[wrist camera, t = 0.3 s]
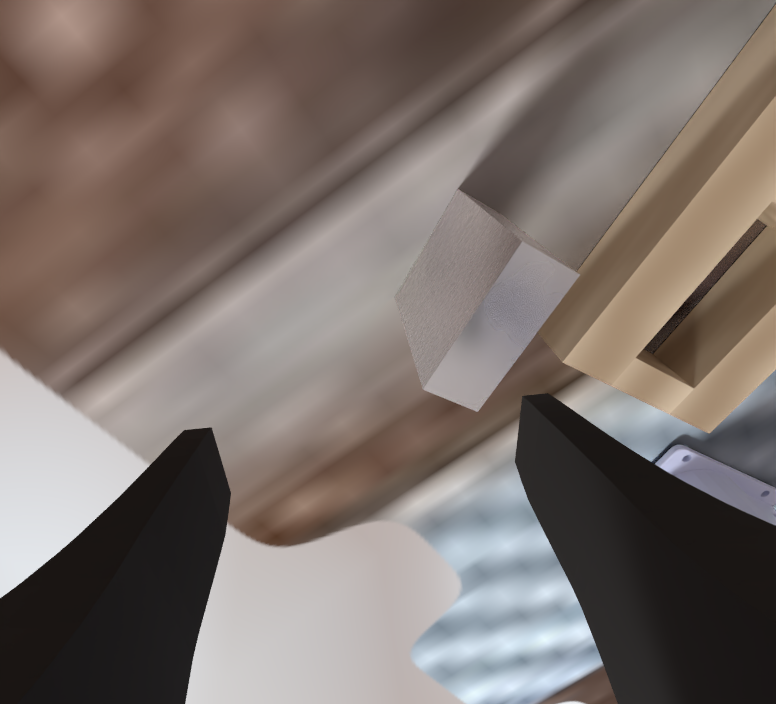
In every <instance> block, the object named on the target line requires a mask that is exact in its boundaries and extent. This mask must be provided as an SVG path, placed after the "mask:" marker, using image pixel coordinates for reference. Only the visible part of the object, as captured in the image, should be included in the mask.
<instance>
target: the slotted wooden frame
mask: <svg viewBox="0 0 776 704" xmlns="http://www.w3.org/2000/svg"><path fill="white" fill-rule="evenodd" d="M756 219H759V220H760V221H761V222H763V223H764V224H765V225H767V226H766V228H765V229H764V230H763V231H762V232H761V233H760V234H759V235H758V237H757V238H756V239H755V240H754V241H753V242H752V243H751V244H750V246H749V247H748V248H747V249H746V250H745V251H744V252H743V253H742V255H741V256H740V257H739V258H738V259H737V260H736V261H735V262H734V264H733V265H732V266H731V267H730V268H729V269H728V270H727V271H726V273H725V274H724V275H723V276H722V277H721V278H720V279H719V281H718V282H717V283H716V284H715V285H714V286H713V287H712V288H711V290H710V291H709V292H708V293H707V294H706V295H705V296H704V297H703V299H702V300H701V301H700V302H699V303H698V304H697V305H696V306H695V308H694V309H693V310H692V311H691V312H690V313H689V314H688V315H687V317H686V318H685V319H684V320H683V321H682V322H681V323H680V324H679V326H678V327H677V328H676V329H675V330H674V331H673V332H672V333H671V335H670V336H669V337H668V338H667V339H666V340H665V341H664V342H663V344H662V345H661V346H660V347H659V348H658V349H657V350H656V351H655V353H654V354H652V353H650V352H648V351H646V350H644V347H645V346H646V345H647V344H648V343H649V342H650V341H651V339H652V338H653V337H654V336H655V335H656V334H657V333H658V331H659V330H660V329H661V328H662V327H663V326H664V325H665V323H666V322H667V321H668V320H669V319H670V318H671V317H672V315H673V314H674V313H675V312H676V311H677V310H678V309H679V307H680V306H681V305H682V304H683V303H684V302H685V301H686V299H687V298H688V297H689V296H690V295H691V294H692V293H693V291H694V290H695V289H696V288H697V287H698V286H699V285H700V283H701V282H702V281H703V280H704V279H705V278H706V276H707V275H708V274H709V273H710V272H711V271H712V270H713V268H714V267H715V266H716V265H717V264H718V263H719V262H720V260H721V259H722V258H723V257H724V256H725V255H726V254H727V252H728V251H729V250H730V249H731V248H732V247H733V246H734V244H735V243H736V242H737V241H738V240H739V239H740V238H741V236H742V235H743V234H744V233H745V232H746V231H747V230H748V228H749V227H750V226H751V225H752V224H753V223H754V222H755V220H756ZM577 273H579V274H580V276H579V277H578V278H577V280H576V281H575V282H574V284H573V285H572V286H571V288H570V289H569V290H568V292H567V293H566V294H565V296H564V297H563V299H562V300H561V301H560V303H559V304H558V305H557V307H556V308H555V309H554V311H553V312H552V313H551V315H550V316H549V317H548V319H547V320H546V321H545V323H544V324H543V325H542V327H541V328H540V329H539V331H538V334H539V335H540V336H541V337H542V338H543V340H544V341H545V342H546V343H547V344H548V346H549V347H550V348H551V349H552V350H553V352H554V353H555V354H556V355H557V356H558V358H559V359H560V360H561V361H562V362H563V363H565V364H567V365H569V366H571V367H573V368H575V369H577V370H579V371H581V372H583V373H586V374H588V375H590V376H592V377H594V378H596V379H598V380H600V381H602V382H604V383H606V384H608V385H610V386H612V387H614V388H616V389H618V390H621V391H623V392H625V393H627V394H629V395H631V396H633V397H635V398H637V399H639V400H641V401H643V402H645V403H647V404H649V405H651V406H653V407H655V408H658V409H660V410H662V411H664V412H666V413H668V414H670V415H672V416H674V417H676V418H678V419H680V420H682V421H684V422H686V423H688V424H690V425H693V426H695V427H697V428H699V429H701V430H703V431H705V432H707V433H711V432H712V431H713V430H714V429H715V428H716V427H717V426H718V425H719V424H720V423H721V422H722V421H723V420H724V419H725V418H726V417H727V416H728V415H729V414H730V413H731V412H732V411H733V410H734V409H735V408H736V407H737V406H738V405H739V404H740V403H742V402H743V401H744V400H745V399H746V398H747V397H748V396H749V395H750V394H751V393H752V392H753V391H754V390H755V389H756V388H757V387H758V386H759V385H760V384H761V383H762V382H763V381H764V380H765V379H766V378H767V377H768V376H769V375H770V374H771V373H772V372H774V371H775V370H776V5H775V6H774V7H773V9H772V10H771V11H770V13H769V14H768V15H767V17H766V18H765V19H764V21H763V22H762V23H761V25H760V26H759V28H758V29H757V30H756V32H755V33H754V34H753V36H752V37H751V38H750V40H749V41H748V42H747V44H746V45H745V46H744V48H743V49H742V50H741V52H740V53H739V54H738V56H737V57H736V58H735V60H734V61H733V62H732V64H731V65H730V66H729V68H728V69H727V71H726V72H725V73H724V75H723V76H722V77H721V79H720V80H719V81H718V83H717V84H716V85H715V87H714V88H713V89H712V91H711V92H710V93H709V95H708V96H707V97H706V99H705V100H704V101H703V103H702V104H701V105H700V107H699V108H698V109H697V111H696V112H695V114H694V115H693V116H692V118H691V119H690V120H689V122H688V123H687V124H686V126H685V127H684V128H683V130H682V131H681V132H680V134H679V135H678V136H677V138H676V139H675V140H674V142H673V143H672V144H671V146H670V147H669V148H668V150H667V151H666V152H665V154H664V155H663V157H662V158H661V159H660V161H659V162H658V163H657V165H656V166H655V167H654V169H653V170H652V171H651V173H650V174H649V175H648V177H647V178H646V179H645V181H644V182H643V183H642V185H641V186H640V187H639V189H638V190H637V191H636V193H635V194H634V195H633V197H632V198H631V200H630V201H629V202H628V204H627V205H626V206H625V208H624V209H623V210H622V212H621V213H620V214H619V216H618V217H617V218H616V220H615V221H614V222H613V224H612V225H611V226H610V228H609V229H608V230H607V232H606V233H605V234H604V236H603V237H602V238H601V240H600V241H599V242H598V244H597V245H596V247H595V248H594V249H593V251H592V252H591V253H590V255H589V256H588V257H587V259H586V260H585V261H584V263H583V264H582V265H581V267H580V268H579V269H578V271H577Z"/></svg>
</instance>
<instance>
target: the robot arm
mask: <svg viewBox="0 0 776 704" xmlns="http://www.w3.org/2000/svg"><path fill="white" fill-rule="evenodd" d="M515 463H516V466H517V469H518V472H519V475H520V478H521V481H522V484H523V486H524V489H525V492H526V495H527V497H528V500H529V502H530V504H531V506H532V508H533V510H534V512H535V514H536V516H537V518H538V520H539V522H540V524H541V526H542V528H543V530H544V532H545V534H546V536H547V538H548V540H549V542H550V544H551V546H552V548H553V550H554V552H555V554H556V556H557V558H558V560H559V562H560V564H561V566H562V568H563V570H564V572H565V574H566V576H567V578H568V580H569V582H570V584H571V586H572V588H573V590H574V592H575V594H576V596H577V599H578V601H579V603H580V605H581V607H582V610H583V612H584V615H585V618H586V620H587V623H588V625H589V628H590V630H591V633H592V635H593V638H594V641H595V643H596V646H597V648H598V651H599V653H600V656H601V659H602V662H603V664H604V667H605V670H606V672H607V675H608V678H609V681H610V683H611V686H612V689H613V691H614V694H615V697H616V700H617V702H618V704H776V510H775V509H774V508H773V506H774V505H775V504H776V488H775V487H773V486H771V485H768V484H766V483H764V482H762V481H760V480H758V479H755V478H753V477H751V476H749V475H747V474H745V473H742V472H740V471H738V470H736V469H734V468H732V467H729V466H727V465H725V464H723V463H721V462H719V461H716V460H714V459H712V458H710V457H708V456H706V455H703V454H701V453H699V452H697V451H695V450H693V449H690V448H688V447H686V446H684V445H675V446H673V447H672V448H670V449H669V450H668V451H667V452H666V453H665V454H664V455H663V456H662V457H661V458H660V459H659V460H658V461H657V462H656V463H655V464H653V463H652V462H650V461H648V460H647V459H645V458H643V457H642V456H640V455H639V454H637V453H635V452H634V451H632V450H631V449H629V448H628V447H626V446H624V445H623V444H621V443H620V442H618V441H617V440H615V439H614V438H612V437H611V436H609V435H608V434H606V433H605V432H603V431H602V430H600V429H599V428H598V427H596V426H595V425H593V424H592V423H590V422H589V421H587V420H586V419H585V418H583V417H582V416H580V415H579V414H577V413H576V412H575V411H573V410H572V409H570V408H569V407H567V406H566V405H565V404H563V403H562V402H560V401H559V400H557V399H556V398H554V397H553V396H551V395H549V394H548V393H547V394H537V395H527V396H522V404H521V413H520V422H519V431H518V440H517V449H516V458H515ZM230 496H231V492H230V488H229V485H228V482H227V478H226V475H225V471H224V468H223V465H222V461H221V458H220V455H219V451H218V448H217V444H216V441H215V438H214V434H213V431H212V428H202V429H192V430H184V431H183V432H182V433H181V434H180V435H179V436H178V437H177V438H176V439H175V440H174V441H173V442H172V443H171V444H170V445H169V446H168V447H167V448H166V449H165V450H164V451H163V452H162V453H161V454H160V455H159V457H158V458H157V459H156V460H155V461H154V462H153V463H152V464H151V465H150V466H149V467H148V468H147V469H146V470H145V471H144V472H143V473H142V474H141V475H140V476H139V477H138V478H137V479H136V481H134V482H133V483H132V484H131V485H130V487H128V489H127V490H126V491H125V492H124V493H123V494H122V495H121V496H120V497H119V498H118V499H117V500H115V501H114V502H113V503H112V504H111V505H110V506H109V507H108V508H107V509H106V510H105V511H104V512H103V513H102V514H101V515H99V517H97V518H96V519H95V520H94V521H93V522H92V523H91V524H90V525H89V526H88V527H87V528H86V529H85V530H83V532H81V533H80V534H79V535H78V536H77V537H76V538H75V539H74V540H73V541H71V542H70V543H69V544H68V545H67V546H66V547H65V548H63V549H62V550H61V551H60V552H59V553H57V554H56V555H55V556H54V557H53V558H51V559H50V560H49V561H48V562H46V563H45V564H44V565H43V566H42V567H40V568H39V569H38V570H37V571H35V572H34V573H33V574H32V575H30V576H29V577H28V578H27V579H25V580H24V581H23V582H22V583H20V584H19V585H18V586H17V587H15V588H14V589H13V590H11V591H10V592H9V593H7V594H6V595H4V596H3V597H2V598H0V704H185V701H186V695H187V689H188V684H189V677H190V672H191V666H192V661H193V656H194V651H195V647H196V643H197V638H198V634H199V631H200V627H201V623H202V619H203V616H204V612H205V609H206V605H207V601H208V598H209V594H210V590H211V587H212V583H213V579H214V575H215V572H216V568H217V565H218V560H219V557H220V553H221V549H222V545H223V542H224V538H225V533H226V526H227V520H228V512H229V504H230Z"/></svg>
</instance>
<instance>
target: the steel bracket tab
mask: <svg viewBox="0 0 776 704" xmlns="http://www.w3.org/2000/svg"><path fill="white" fill-rule="evenodd" d="M579 276H580V274H579V273H577V272H576V271H575V270H574V269H572V268H571V267H570V266H568V265H567V264H566V263H564V262H563V261H562V260H560V259H559V258H558V257H556V256H555V255H554V254H553V253H551V252H550V251H549V250H547V249H546V248H545V247H543V246H542V245H541V244H539V243H538V242H537V241H535V240H534V239H533V238H532V237H530V236H529V235H528V234H526V233H525V232H524V231H522V230H521V229H520V228H518V227H517V226H516V225H514V224H513V223H512V222H511V221H509V220H508V219H507V218H505V217H504V216H503V215H501V214H500V213H499V212H497V211H495V210H493V209H492V208H490V207H488V206H487V205H485V204H483V203H481V202H480V201H478V200H476V199H475V198H473V197H471V196H470V195H468V194H466V193H464V192H463V191H461V190H459V189H457V191H456V193H455V194H454V196H453V198H452V199H451V201H450V203H449V205H448V206H447V208H446V210H445V211H444V213H443V215H442V217H441V218H440V220H439V222H438V223H437V225H436V227H435V229H434V230H433V232H432V234H431V236H430V237H429V239H428V241H427V242H426V244H425V246H424V248H423V249H422V251H421V253H420V254H419V256H418V258H417V260H416V261H415V263H414V265H413V266H412V268H411V270H410V272H409V273H408V275H407V277H406V278H405V280H404V282H403V284H402V285H401V287H400V289H399V290H398V292H397V294H396V296H395V300H396V303H397V307H398V310H399V313H400V316H401V320H402V323H403V326H404V329H405V333H406V336H407V339H408V342H409V346H410V349H411V352H412V355H413V359H414V362H415V365H416V368H417V372H418V375H419V378H420V381H421V385H422V388H423V390H426V391H428V392H430V393H433V394H435V395H438V396H440V397H443V398H445V399H447V400H450V401H452V402H455V403H457V404H460V405H462V406H465V407H467V408H469V409H472V410H474V411H477V412H478V411H479V409H480V408H481V407H482V405H483V404H484V403H485V401H486V400H487V399H488V397H489V396H490V395H491V393H492V392H493V391H494V389H495V388H496V387H497V385H498V384H499V383H500V381H501V380H502V379H503V377H504V376H505V375H506V373H507V372H508V371H509V369H510V368H511V367H512V365H513V364H514V363H515V361H516V360H517V359H518V357H519V356H520V355H521V353H522V352H523V351H524V349H525V348H526V347H527V345H528V344H529V343H530V341H531V340H532V339H533V337H534V336H535V335H536V333H537V332H538V331H539V329H540V328H541V327H542V325H543V324H544V323H545V321H546V320H547V319H548V317H549V316H550V315H551V313H552V312H553V311H554V309H555V308H556V307H557V305H558V304H559V303H560V301H561V300H562V299H563V297H564V296H565V294H566V293H567V292H568V290H569V289H570V288H571V286H572V285H573V284H574V282H575V281H576V280H577V278H578V277H579Z"/></svg>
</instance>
